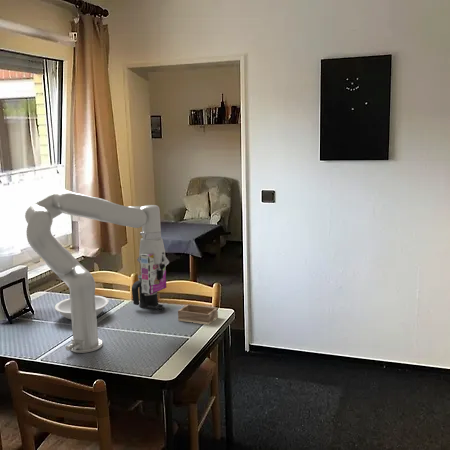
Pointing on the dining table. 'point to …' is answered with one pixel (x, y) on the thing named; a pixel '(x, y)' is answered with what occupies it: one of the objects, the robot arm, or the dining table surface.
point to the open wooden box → (198, 314)
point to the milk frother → (145, 297)
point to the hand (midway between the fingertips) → (153, 277)
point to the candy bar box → (151, 275)
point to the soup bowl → (66, 312)
